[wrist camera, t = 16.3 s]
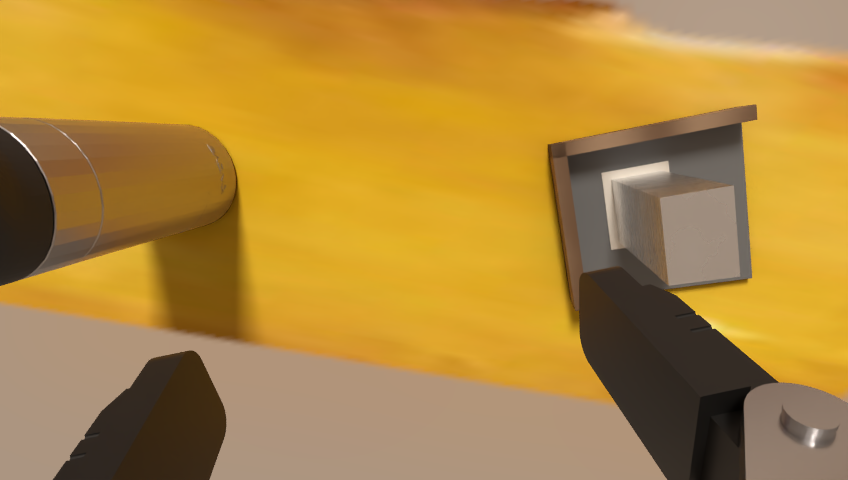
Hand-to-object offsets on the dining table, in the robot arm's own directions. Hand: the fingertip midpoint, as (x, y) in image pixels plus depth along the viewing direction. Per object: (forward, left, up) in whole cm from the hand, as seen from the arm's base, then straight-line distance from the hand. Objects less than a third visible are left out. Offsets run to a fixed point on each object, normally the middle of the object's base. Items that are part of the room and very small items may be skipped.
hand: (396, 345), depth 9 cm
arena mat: (+13, -4, -29) cm, 32 cm away
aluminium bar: (+12, -4, -28) cm, 31 cm away
